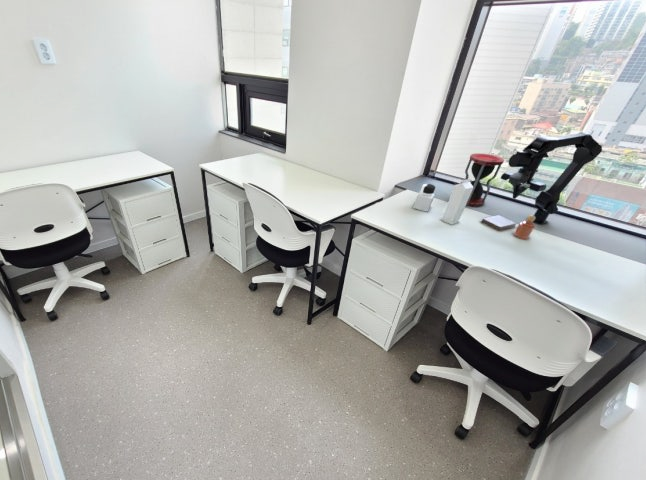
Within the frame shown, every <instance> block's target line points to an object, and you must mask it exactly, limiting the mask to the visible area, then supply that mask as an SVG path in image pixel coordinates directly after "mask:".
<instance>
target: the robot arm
mask: <svg viewBox="0 0 646 480" xmlns="http://www.w3.org/2000/svg"><path fill="white" fill-rule="evenodd" d="M571 146H574V147H575V150H574V152H573V155H572V161H571V162H570V163H569V164H568V165H567V167H566V168H565V169H564V170H563V172H562V173H561V174H560V175H559V177H557V179H556V180H555V181H554V183H553V184H552V185H551V186H550V188H548V189H547V184H546V183H543V182H541V181H536V182H533V181H534V176H535V174H536V173H538V172H539V167H540V166H541V163H542V161H543V160H544V159H545V158H549V157H550V156H549V154H548V153H550V152H553V151H554V150H556V149H558V148H564V147H571ZM602 152H603V146H602V145H601V144H600V143H599V142H598V141H597V140H596V139H595V138H594V137H593V135H592V134H590V133H586V132H578V133H572V134H566V135H561V136H556V137H555V136H554V137H553V136H537V137H536V138H535V139H534V140H532V142H530V143H529V144H528V145H526V147H524V148H523V149H522V151H521V150H517V151H516V152H515V153H514V154H512V155H511V156H510V157H509V159H508V166H509V167H510V168H519V169H518V171H516V172H511V171H508V172H503V173H502V174H501V175H500V179H501V180H503V181H508V183H509V184H510V185H512V189H513V190H512V199H513V200H515V199H517V198H518V197H519V196H520V195H521V194H523V193H524V192H525V191H527V190H528V189H529V190H530V191H533V192H539V194H538V196H536V197H535V200H534V208H535V209H536V211H535V212H534V214H533V215H534V216H535V220H534V221H533V222H534V223H536V224H538V225H543V224H547V223H549V220H547V219H548V218H549V216H550V215H553V214H556V213H557V212H558V211H559V208H558V206H557V204H558V203H559V201H560V198H561V193H563V191H564V190H565V189H566V187H567V186H569V184H570V183H571V182H572V180H574V178H575V176H577V174H578V173H579V172H580V170H582V169H583V167H584V166H585V165H587V164H588V163H591V162H592V161H595V159H596V158H597V157H598V156H599V155H600V154H601V153H602Z"/></svg>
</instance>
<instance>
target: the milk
mask: <svg viewBox="0 0 646 480" xmlns="http://www.w3.org/2000/svg"><path fill="white" fill-rule="evenodd" d="M462 181H463V182H462ZM462 181H461V182H462V183H461V182H460V183H461V184H460V183H457V184H454V186H453V189H452V192H451V193H450V197H449V199H448V202H447V204H446V207H445V209H444V212H443V214H442V217H441V221H442V222H445V223H447V224H449V225H454V224H457V223H458V224H459V222H460V219H461V218H462V215H463V214H464V213H463V212H464V210H465V208H466V207H467V205H466V204H467V201H468V199H469V197H470V194H471V192H472V190H473V186H472V184H471V183H470V182H471V178H468V179H467V180H464V179H463V180H462Z"/></svg>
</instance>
